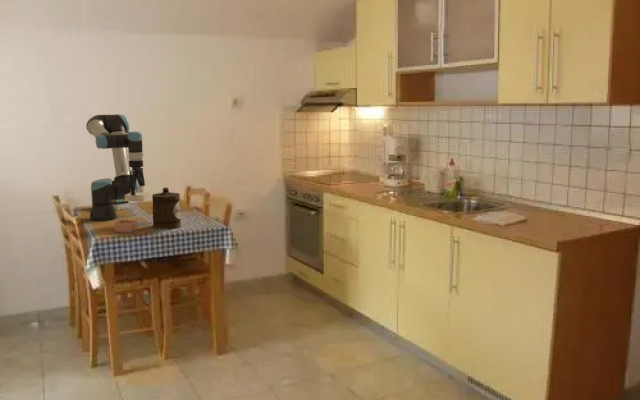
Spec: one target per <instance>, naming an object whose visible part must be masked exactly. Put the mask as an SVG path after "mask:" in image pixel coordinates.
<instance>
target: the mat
mask: <svg viewBox="0 0 640 400" xmlns="http://www.w3.org/2000/svg"><path fill="white" fill-rule="evenodd" d="M137 224H138V228H141V227H143V228H146V227H148V226H149V225H151V224H153V221H149V222H147V221H143V222H142V221H141V222H140V221H137Z"/></svg>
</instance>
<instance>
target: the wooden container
mask: <svg viewBox="0 0 640 400" xmlns="http://www.w3.org/2000/svg"><path fill="white" fill-rule="evenodd" d="M180 199H181V198H180V193H179V192H170V190H169V188H168V187H167V186H166V187H163V188H162V191H161V192H157V193H153V194H152V222H153V223H152V227H153V228H155V229H159V230H160V229H161V230H166V229H167V230H173V229H178V228H180V227H181V224H182V223H181V221H182V220H181V203H180V202H181V201H180Z"/></svg>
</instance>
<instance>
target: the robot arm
mask: <svg viewBox="0 0 640 400" xmlns="http://www.w3.org/2000/svg"><path fill="white" fill-rule="evenodd" d="M85 126H86V130H87V132H88V133H89V134H90V135H92V136H94V138H95V146H96V148H97V149H103V150H105V149H111V150H112V151H111V152H112V158H113V159H112V160H113V164H114V165H113V166H114V172H115V176H114V178H113V179H112V178H110V177H109V178H101V179H95V180H93V181H91V183H90V192H91V194H90V195H91V210H90V214H89V220H90V221H96V222H97V221H98V222H104V221H110V220H111V221H112V220H115V219H117V218H118V214H117V210H115V209H114V206H113V200H122V199H125V195H126V194H128V193H130V192H131V201H130V202H137V199H136V192H145V191H144V187H145V186H146V182H145V177H144V168H143V167H144V160H143V157H144V152H143V150H144V149H143V134H142V132H141V131H130V123H129V121H128V118H127V117H126V115H125V114H117V113H116V114H96V115H94V116H91V117H90V118H89V119H88V120H87V122H86V125H85Z"/></svg>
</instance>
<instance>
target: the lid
mask: <svg viewBox="0 0 640 400" xmlns="http://www.w3.org/2000/svg"><path fill="white" fill-rule="evenodd" d="M136 199H137V201H136V202H142V203H144V202H145V201H149V199H151V191H148V192H147V191H144V192H136ZM125 201H129V202H132V201H131V192H130V193H128V194H126V195H125Z"/></svg>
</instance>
